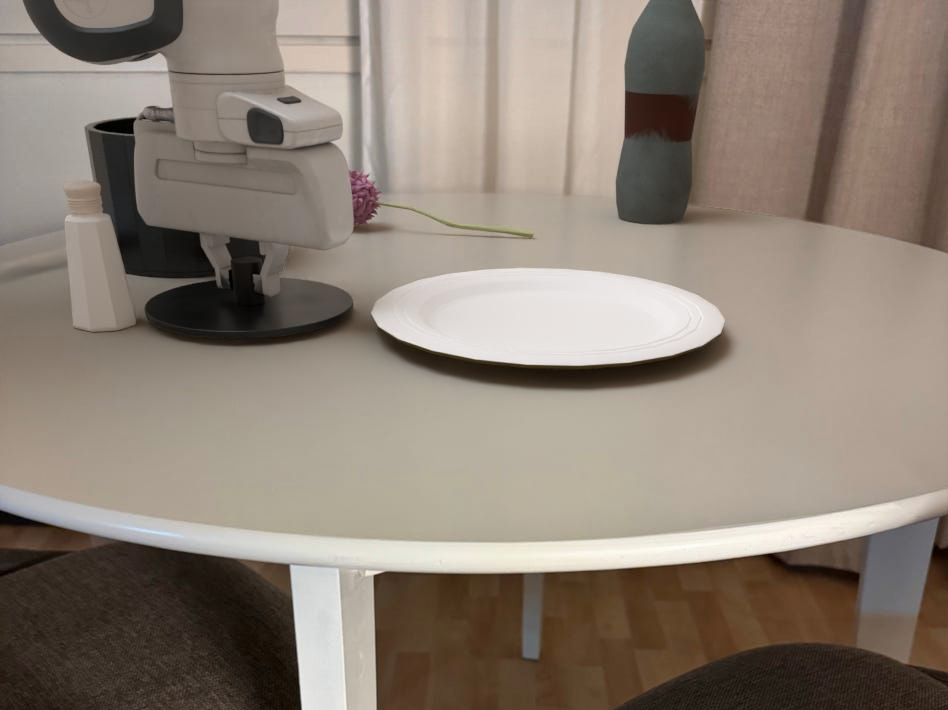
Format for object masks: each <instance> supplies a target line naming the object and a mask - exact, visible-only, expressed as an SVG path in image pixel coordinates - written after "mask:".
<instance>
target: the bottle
mask: <svg viewBox="0 0 948 710" xmlns="http://www.w3.org/2000/svg"><path fill="white" fill-rule="evenodd" d="M624 59H625V60H624V70H623V71H624V127H623V128H624V132H623V133H624V134H623V135H624V136H623V141H622V144H621V145H622V146H621V151H620V155H619V159H618V160H619V161H618V166H617V170H616V171H617V172H616V177H615V205H616V210H617V216H618V218H619V219H620V220H622V221H626V222H629V223H637V224H645V225H646V224H647V225H665V224H673V223H679V222H681V221H683V219H684V217H685V214H686V211H687V208H688V205H689V201H690V196H691V192H692V187H693V145H692V144H693V141H692V140H693V134H694V128H695V122H696V116H697V110H698V106H699V100H700V95H701V94H700V93H701V88H702V84H703V78H704V76H705V75H704V74H705V71H706V37H705V30H704V26H703V24H702V22H701V19H700V17H699V14H698V12H697V10H696V7H695V5H694V3H693V1H692V0H648V2H647V3H646V5H645V7H644V8H643V10H642V12H640V15H639V17H638V18H637V20H636V21H635V22H634V24H633V26H632V29H631V32H630V35H629V39H628V42H627V48H626V53H625V58H624Z"/></svg>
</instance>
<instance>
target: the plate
mask: <svg viewBox="0 0 948 710" xmlns="http://www.w3.org/2000/svg"><path fill="white" fill-rule="evenodd" d="M370 316H371V318H372V320H373V321H374V323H375V325H376V327H377V329H378V330H380V331H382V332H383V333H385V334H386V335H387V336H389V337H391V338H392V339H394V340H396V341H397V342H399V343H400V344H404V345H406V346H408V347H412V348H415V349H417V350H420V351H424V352H426V353H429V354H432V355H436V356H441V357H446V358H451V359H455V360H461V361H465V362H471V363H475V364H481V365H482V364H483V365H492V366H501V367H509V368H518V369H528V370H529V369H530V370H561V371H562V370H566V371H570V370H587V369H588V370H590V369H604V368H618V367H620V368H621V367H631V366H637V365H642V364H649V363H654V362H655V363H656V362H659V361H666V360H671V359H673V358H677V357H679V356H682V355H685V354H689V353H692V352H694V351H695V352H696V351H697V350H701V349H702V348H705V347H706V346H707V345H708V344H710V343H712V342H713V341H714V340H716V339H718V338H719V337H721V335H722V332H723V330H724V327H725V323H726V319H725V318H724V316H723V314H722V313H721V311H720V310H719V308H718V307H717V306H716V305H714V304H713V303H711V302H710V301H708V300H706V299H704V298H703V297H701V296H700V295H698V294H696V293H693V292H691V291H689V290H685V289H682V288H680V287H677V286H674V285H671V284H667V283H663V282H660V281H655V280H651V279H646V278H642V277H638V276H631V275H625V274H618V273H612V272H606V271H605V272H604V271H596V270H595V271H594V270H584V269H571V268H549V267H548V268H546V267H515V268H514V267H512V268H511V267H510V268H493V269H488V268H487V269H478V270H469V271H461V272H453V273H452V272H451V273H445V274H441V275H436V276H432V277H431V276H430V277H427V278H422V279H418V280H417V279H416V280H415V281H412V282H409V283H406V284H404V285H401V286H397V287H396V288H393V289H391V290H390V291H389V292H387V293H385V294H384V295H383V296H382V297H380V298H379V299H377V300H376V301H375V302H374V305H373V307H372V310H371V312H370Z"/></svg>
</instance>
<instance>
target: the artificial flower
mask: <svg viewBox="0 0 948 710" xmlns="http://www.w3.org/2000/svg"><path fill="white" fill-rule="evenodd" d="M363 173H364V170H361V171H359V172H358V171H357V169H351V170H350V169H349V175H350V182H351V190H352V201H353V216H354V227H353V230H354V229H355V226H357V224H358V226H360V225H363V224H367V225H368V222H367V221H370V220H371V221H372V220H373V218H375V215H377V216H378V212H377V210H379V208H382V206H383V207H389V208H390V207H391V208H396V209H402V210H408V211H412V212H415V213H418V214H421V215H423V216H426V217H427V218H430V219H431V220H434V221H436V222H438V223H440V224H442V225H445V226H447V227H450V228H454V229H459V230H466V231H467V230H469V231H479V232H488V233H499V234H506V235H511V236H517V237H521V238H527V239H528V238H529V239H533V238H534V233H535V231H534V230H527V229H519V228H513V227H503V226H494V225H493V226H491V225H480V224H469V223H458V222H454V221H449V220H446V219H444V218H441V217H439V216H437V215H435V214H432V213H429V212H427V211H425V210H422V209H419V208H417V207H414V206H408V205H401V204H395V203H386V202H381V201H379V199H380V198H381V197H380V196H378V195H379V194H382V193H383V192H382V191H380V189H379V187H375V184H376V182H377V181H376V180H370V179H368V178H369V176H370V174H371V172H368V173H367V174H363Z"/></svg>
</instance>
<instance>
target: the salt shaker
mask: <svg viewBox="0 0 948 710" xmlns="http://www.w3.org/2000/svg"><path fill="white" fill-rule="evenodd" d="M62 189H63V192H64V193H65V196H66V203H67V205H68V212H69V213H70V214H68V215H66V216H65V219H64V235H65V248H66V260H67V270H68V281H69V291H70V302H71V303H70V304H71V314H72V325H73V328H74V329H77V330H82V331H85V332H90V333H96V332H100V333H101V332H117V331H120V330H123V329H127V328H130V327H134V326H136V325H137V319H138V315H137V311H136V307H135V303H134V300H133V296H132V292H131V289H130V284H129V281H128V277H127V273H125V269H124V265H123V261H122V257H121V254H120V250H119V246H118V242H117V238H116V235H115V231H114V227H113V224H112V220H111V217H110V215H108V214H105V213H103V212H102V211H103V208H102V199H101V196H100V192H101V185H100V184H99V183H97V182H94V181H93V180H74V181H69V182H67V183H65V184H64V185H63V187H62Z"/></svg>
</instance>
